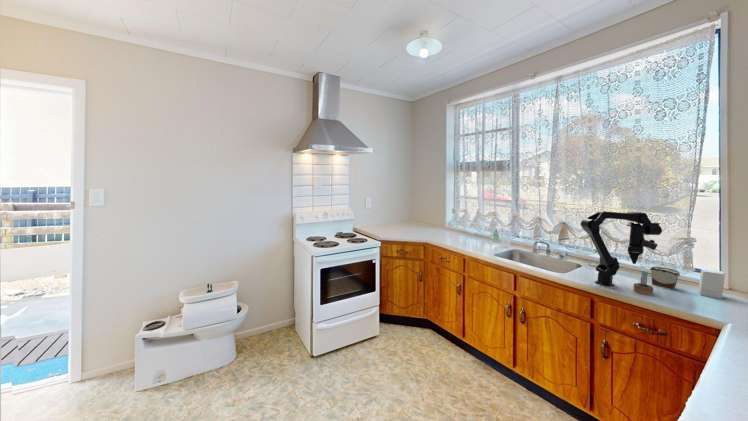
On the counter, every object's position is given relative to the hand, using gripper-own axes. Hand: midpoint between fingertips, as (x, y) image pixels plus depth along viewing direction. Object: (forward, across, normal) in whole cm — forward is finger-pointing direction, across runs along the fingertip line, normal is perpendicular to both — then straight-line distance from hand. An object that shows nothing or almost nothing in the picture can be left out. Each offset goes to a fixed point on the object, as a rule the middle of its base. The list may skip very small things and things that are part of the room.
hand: (634, 262), depth 162 cm
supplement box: (+13, +8, -30) cm, 33 cm away
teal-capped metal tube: (+13, -11, -4) cm, 17 cm away
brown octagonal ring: (+13, -11, -4) cm, 17 cm away
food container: (+13, +10, -14) cm, 21 cm away
